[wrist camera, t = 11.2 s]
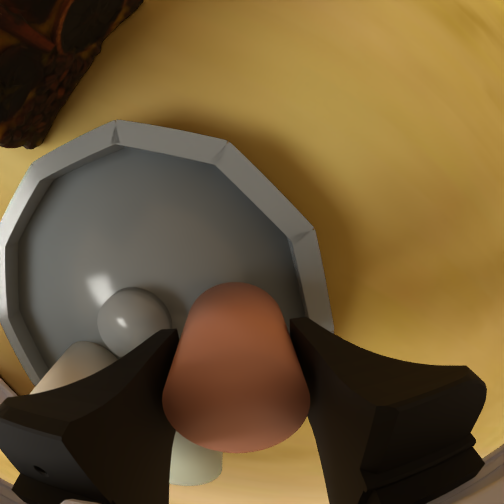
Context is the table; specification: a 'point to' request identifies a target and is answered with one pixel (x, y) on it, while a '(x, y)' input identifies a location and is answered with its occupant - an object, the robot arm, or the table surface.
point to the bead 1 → (75, 365)
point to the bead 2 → (235, 373)
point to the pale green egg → (193, 463)
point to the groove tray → (144, 241)
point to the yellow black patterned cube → (47, 59)
